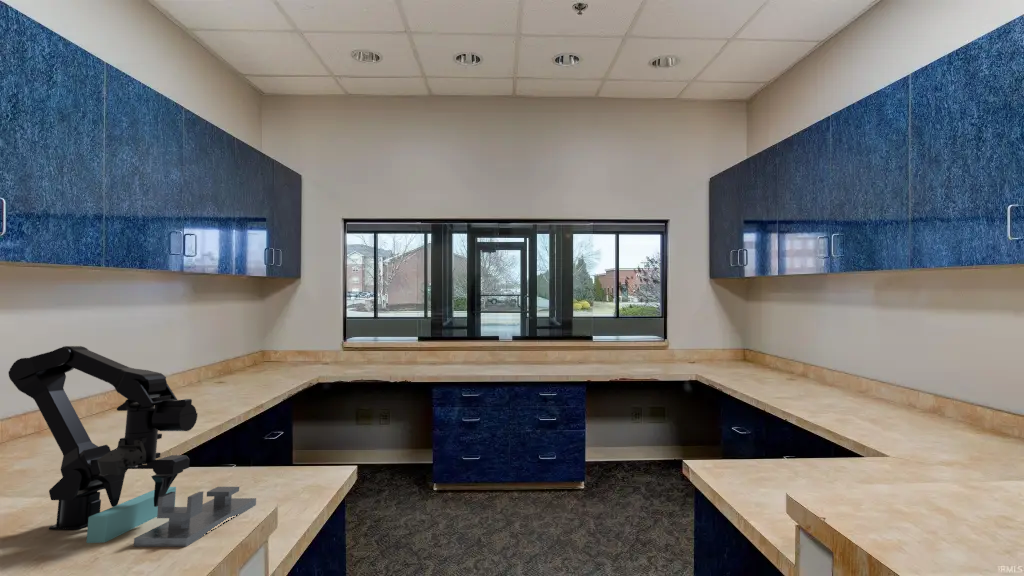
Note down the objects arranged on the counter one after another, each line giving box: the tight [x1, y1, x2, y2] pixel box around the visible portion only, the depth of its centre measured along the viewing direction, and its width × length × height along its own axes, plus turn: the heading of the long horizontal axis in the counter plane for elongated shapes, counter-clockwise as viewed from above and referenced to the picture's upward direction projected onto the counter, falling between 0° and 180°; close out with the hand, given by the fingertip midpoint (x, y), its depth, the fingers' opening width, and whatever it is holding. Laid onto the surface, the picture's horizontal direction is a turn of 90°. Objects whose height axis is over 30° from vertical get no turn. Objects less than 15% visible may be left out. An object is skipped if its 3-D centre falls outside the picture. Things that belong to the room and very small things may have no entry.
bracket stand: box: [133, 486, 257, 548], centre depth 103 cm, size 10×24×8 cm, turn 179°
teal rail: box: [86, 486, 177, 544], centre depth 103 cm, size 4×20×5 cm, turn 1°
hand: (135, 506), depth 103 cm, fingers open, 9 cm apart
